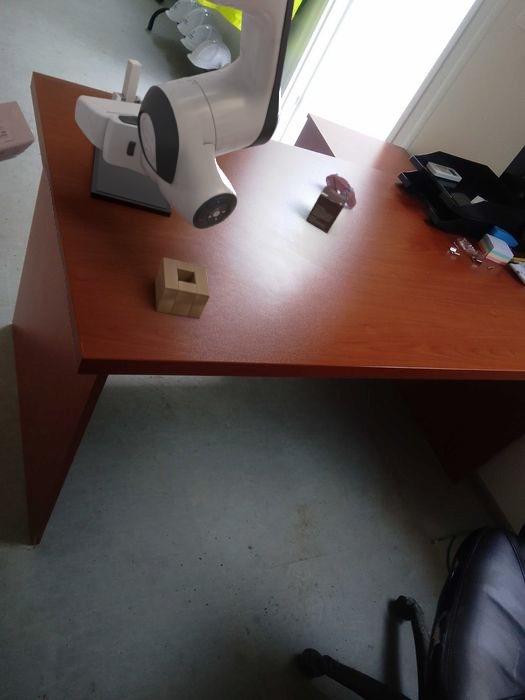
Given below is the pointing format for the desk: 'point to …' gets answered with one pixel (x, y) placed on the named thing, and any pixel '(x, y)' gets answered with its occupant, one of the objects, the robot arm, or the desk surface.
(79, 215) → the desk surface
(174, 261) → the pen stand
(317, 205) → the box
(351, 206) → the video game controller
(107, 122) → the robot arm
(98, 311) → the desk surface
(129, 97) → the white square bar
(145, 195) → the plate
